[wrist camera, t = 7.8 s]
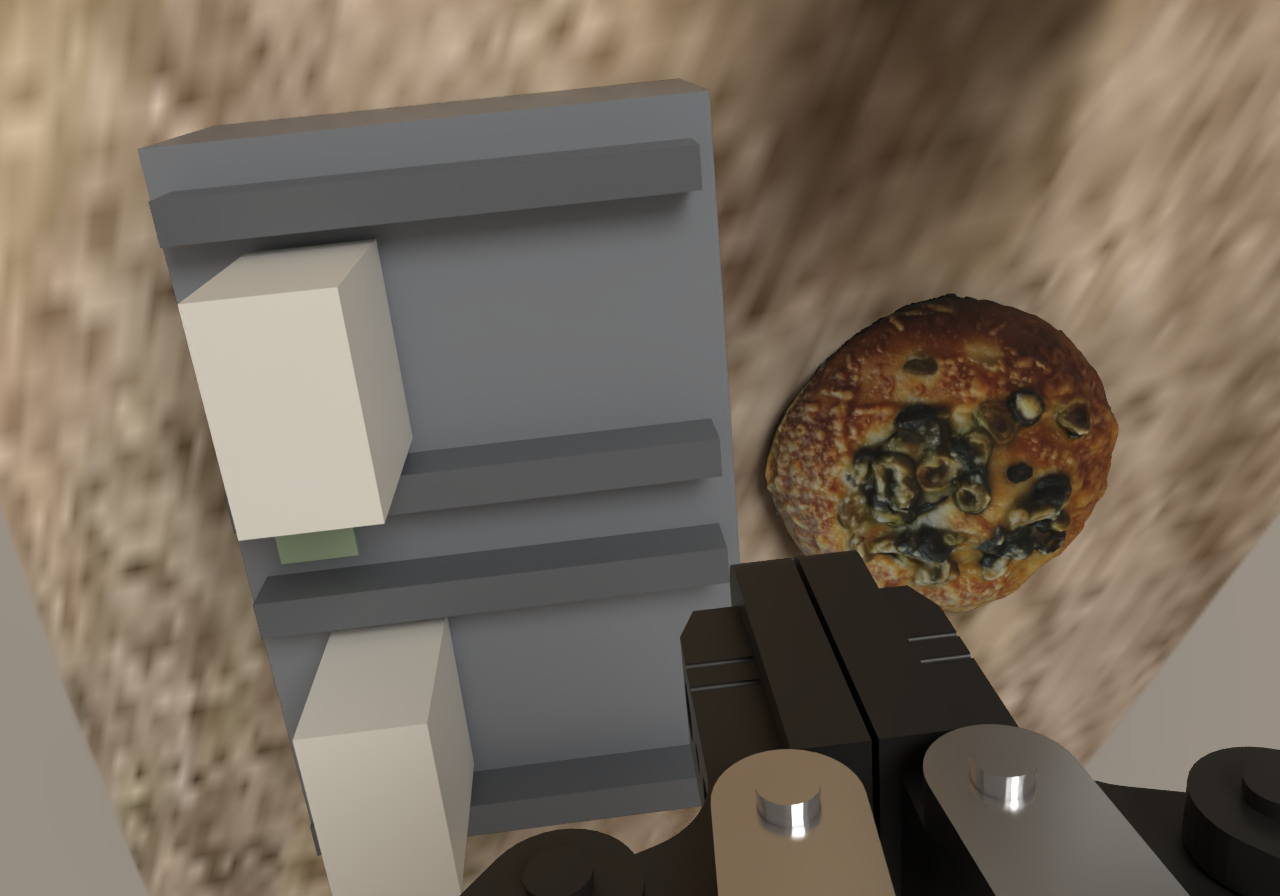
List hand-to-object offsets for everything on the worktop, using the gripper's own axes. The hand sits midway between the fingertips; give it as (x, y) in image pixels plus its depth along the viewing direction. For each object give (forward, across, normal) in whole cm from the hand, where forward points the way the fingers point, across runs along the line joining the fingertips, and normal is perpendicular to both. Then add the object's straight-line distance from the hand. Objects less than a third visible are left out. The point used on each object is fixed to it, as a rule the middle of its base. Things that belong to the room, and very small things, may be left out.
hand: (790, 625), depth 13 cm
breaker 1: (+15, +8, 0) cm, 17 cm away
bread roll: (+21, -9, +8) cm, 24 cm away
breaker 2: (+15, +8, +10) cm, 19 cm away
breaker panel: (+21, +5, +5) cm, 22 cm away
